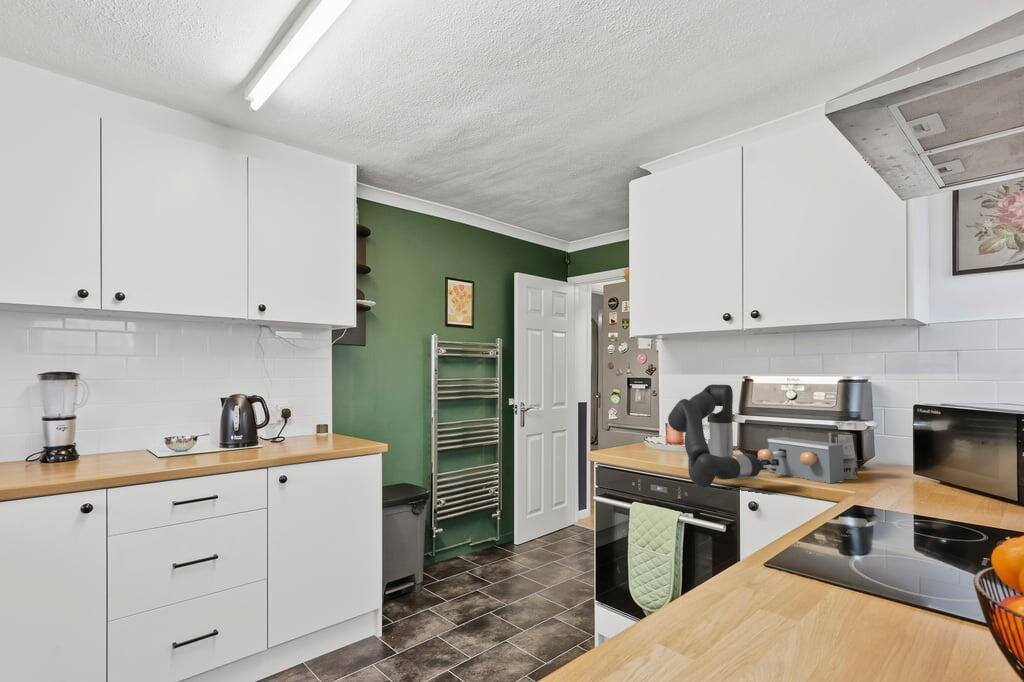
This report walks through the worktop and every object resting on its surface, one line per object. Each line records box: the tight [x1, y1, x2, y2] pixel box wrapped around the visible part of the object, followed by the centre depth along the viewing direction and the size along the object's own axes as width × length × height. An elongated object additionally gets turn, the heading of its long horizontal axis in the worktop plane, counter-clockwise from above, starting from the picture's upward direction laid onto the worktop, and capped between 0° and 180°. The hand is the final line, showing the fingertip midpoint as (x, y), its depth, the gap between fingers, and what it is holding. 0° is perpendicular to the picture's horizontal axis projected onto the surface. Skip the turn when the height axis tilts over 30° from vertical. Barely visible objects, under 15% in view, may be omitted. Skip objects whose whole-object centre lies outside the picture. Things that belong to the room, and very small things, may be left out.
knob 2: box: [800, 452, 817, 465], centre depth 194 cm, size 4×12×4 cm, turn 117°
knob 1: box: [757, 448, 787, 459], centre depth 202 cm, size 4×12×4 cm, turn 117°
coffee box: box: [828, 431, 859, 480], centre depth 200 cm, size 9×6×16 cm
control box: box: [767, 436, 845, 484], centre depth 200 cm, size 24×8×13 cm, turn 27°
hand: (776, 462), depth 185 cm, fingers closed
